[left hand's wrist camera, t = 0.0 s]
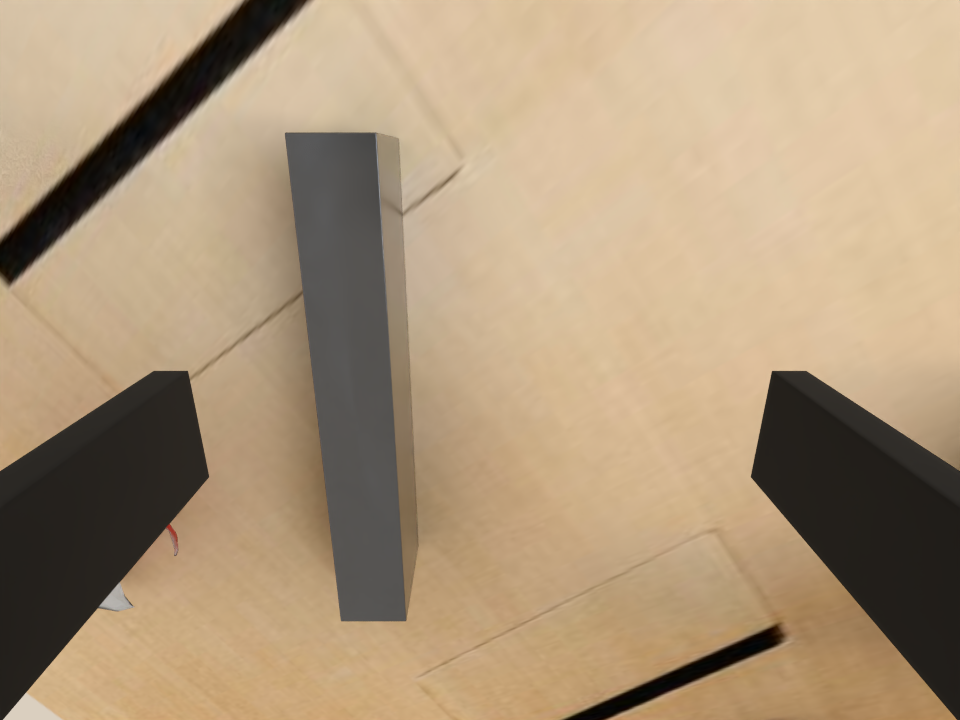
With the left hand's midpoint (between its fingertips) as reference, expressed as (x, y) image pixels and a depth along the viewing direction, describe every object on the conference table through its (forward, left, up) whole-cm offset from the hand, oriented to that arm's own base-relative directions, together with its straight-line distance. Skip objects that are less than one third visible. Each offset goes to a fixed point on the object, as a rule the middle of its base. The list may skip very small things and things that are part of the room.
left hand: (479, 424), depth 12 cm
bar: (+10, -8, -28) cm, 31 cm away
